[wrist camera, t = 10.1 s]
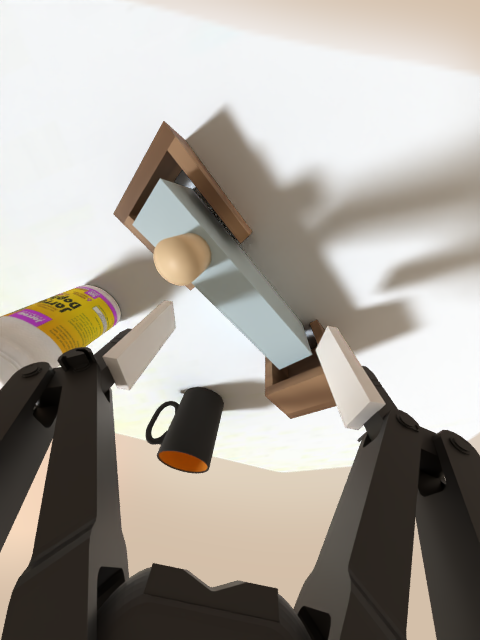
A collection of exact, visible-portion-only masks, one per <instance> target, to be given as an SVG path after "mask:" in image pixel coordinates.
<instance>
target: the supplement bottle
mask: <svg viewBox="0 0 480 640" xmlns="http://www.w3.org/2000/svg"><path fill="white" fill-rule="evenodd" d="M120 317H121V312H120V308H119V306H118V304H117V303H116V301H115V300H114V299H113V297H112V296H111V295H109V294H108V293H107V292H105V291H104V290H102V289H100V288H98V287H95V286H91V285H84V286H80V287H77V288H74V289H71V290H69V291H66V292H63V293H61V294H58V295H56V296H53V297H51V298H48V299H45V300H43V301H40V302H38V303H35V304H32V305H30V306H27V307H25V308H22V309H19V310H17V311H14V312H12V313H9V314H6V315H4V316H1V317H0V389H1V388H2V387H3V386H4V385H5V384H6V382H7V381H8V380H9V379H10V378H11V377H12V375H13V374H14V373H15V372H17V371H18V370H19V369H21V368H23V367H25V366H27V365H30V364H32V363H37V362H47V363H49V364H50V366H51V367H52V368H57V367H58V366H59V365H60V364H59V363H58V361H57V360H58V358H59V357H60V356H61V355H62V354H63V353H65V352H67V351H69V350H71V349H74V348H79V347H86V346H87V345H88V344H90V343H91V342H92V341H94V340H95V339H97V338H98V337H99V336H101V335H102V334H103V333H105V332H106V331H108V330H109V329H110V328H112V327H113V326H114V325H116V324H117V323H118V322H119V320H120Z"/></svg>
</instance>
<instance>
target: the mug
mask: <svg viewBox="0 0 480 640" xmlns="http://www.w3.org/2000/svg"><path fill="white" fill-rule="evenodd" d="M223 404H224V403H223V400H222V398H221V397H220V396H219V395H218V394H217V393H215V392H214V391H212V390H209V389H206V388H200V387H196V388H191V389H189V390H187V391H186V392H185V394H184V396H183V398H182V400H181V402H180V405H179V404H178V403H176V402H174V401H168V402H165V403H163V404H162V405H161V406H160V407H159V408H158V409H157V410H156V412H155V414H154V415H153V417H152V419H151V421H150V422H149V424H148V426H147V429H146V440H147V441H148V443H150V444H161V447H160V449H159V451H158V453H157V457H158V459H159V460H160V461H161V462H162V463H164V464H165V465H167V466H169V467H171V468H173V469H176V470H180V471H183V472H188V473H204V472H206V471H208V470H209V467H210V462H211V458H212V454H213V449H214V445H215V441H216V436H217V432H218V427H219V423H220V418H221V414H222V410H223ZM169 405H171V406H174V407H175V416H174V418H173V420H172V422H171V424H170V427H169V429H168V431H166V432H165V433H164V434H163V435H162V436H161V437H159V438H156V439H154V438H152V436H151V430H152V427H153V425H154V423H155V421H156V419H157V417H158V416H159V414H160V412H161V411H162V410H163V409H164V408H165V407H167V406H169Z"/></svg>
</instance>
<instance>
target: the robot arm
mask: <svg viewBox="0 0 480 640" xmlns="http://www.w3.org/2000/svg"><path fill="white" fill-rule="evenodd" d="M175 328H176V325H175V316H174V308H173V302H171V301H165V300H164V301H163V302H162V303H161V304H159V305H158V306H157V307H156V308H155V309H154V310H153V311H152V312H151V313H150V314H148V315H147V316H146V317H145V318H144V319H143V320H142V321H141V322H140V323H139V324H138V325H136V326H135V327H134V328H133V329H126V330H124V331H122V332H120V333H119V334H118V335H117V336H115V337H114V338H113V339H112V340H111V341H110V342H109V343H107V344H106V345H105V346H104V347H103V348H101V349H100V350H99V351H98V352H97V353H96V354H94V355H93V353H92V351H91V349H90V348H88V347H79V348H74V349H71V350H69V351H67V352H65V353H63V354H62V355H61V356H60V357H59V358H58V360H57V361H58V363H59V364H60V365H61V367H59V368H52V367H51V366H50V364H49V363H47V362H37V363H32V364H30V365H27V366H25V367H23V368H21V369H19V370H18V371H17V372H15V373H14V374H13V375H12V377H11V378H10V379H9V380H8V381H7V382H6V384H5V385H4V386H3V387H2V388H1V389H0V552H1V549H2V547H3V545H4V543H5V541H6V539H7V536H8V534H9V532H10V530H11V528H12V525H13V523H14V521H15V519H16V517H17V514H18V513H19V510H20V508H21V506H22V504H23V502H24V499H25V497H26V495H27V493H28V490H29V489H30V486H31V484H32V482H33V480H34V478H35V475H36V473H37V471H38V469H39V467H40V465H41V463H42V460H43V458H44V456H45V454H46V452H47V450H48V447H49V445H50V443H51V441H52V439H53V442H52V447H51V453H50V459H49V464H48V470H47V475H46V481H45V486H44V493H43V498H42V504H41V509H40V515H39V520H38V526H37V532H36V537H35V543H34V549H33V554H32V558H31V561H30V563H29V565H28V567H27V568H26V570H25V571H24V572H23V574H22V575H21V576H20V577H19V579H18V581H17V583H16V585H15V587H14V589H13V592H12V595H11V599H10V602H9V606H8V610H7V615H6V619H5V624H4V629H3V633H2V639H1V640H407V639H406V627H407V615H408V602H409V589H410V577H411V565H412V552H413V540H414V528H415V517H416V522H417V528H418V534H419V540H420V545H421V550H422V557H423V562H424V568H425V574H426V580H427V586H428V591H429V597H430V602H431V608H432V614H433V620H434V625H435V632H436V637H437V640H480V455H479V454H478V453H477V451H476V450H475V448H474V447H472V445H471V444H470V443H469V442H467V441H466V440H465V439H464V438H462V437H461V436H459V435H457V434H456V433H454V432H451V431H449V430H442V431H440V432H439V433H437V434H436V433H434V432H432V431H429V430H427V429H425V428H422V427H420V426H419V424H418V423H417V422H416V421H415V420H414V419H413V418H412V417H411V416H409V415H408V414H407V413H405V412H403V411H401V410H398V409H397V407H396V406H395V404H394V403H393V401H392V400H391V398H390V397H389V396H388V394H387V393H386V391H385V390H384V388H383V387H382V385H381V384H380V382H378V379H377V378H376V376H375V375H374V374H373V372H371V371H370V370H369V369H368V368H367V367H365V366H361V364H360V363H359V361H358V360H357V358H356V356H355V355H354V353H353V352H352V350H351V349H350V347H349V346H348V344H347V342H346V341H345V339H344V338H343V336H342V335H341V333H340V331H339V330H338V328H337V327H332V326H327V328H326V330H325V332H324V334H323V336H322V338H321V340H320V342H319V344H318V346H317V348H316V353H317V355H318V358H319V360H320V363H321V366H322V368H323V371H324V374H325V376H326V379H327V381H328V384H329V387H330V389H331V392H332V395H333V397H334V400H335V402H336V405H337V408H338V410H339V413H340V416H341V418H342V421H343V423H344V426H345V428H349V429H355V430H359V429H360V428H361V427H362V426H363V425H364V426H365V428H366V431H367V432H366V433H365V434H363V435H362V436H361V437H360V438H359V439H358V440H357V441H358V442H360V441H361V440H362V441H361V444H360V446H359V449H358V452H357V455H356V457H355V460H354V463H353V465H352V468H351V471H350V473H349V476H348V479H347V482H346V484H345V487H344V490H343V492H342V495H341V498H340V501H339V503H338V506H337V508H336V511H335V514H334V517H333V519H332V522H331V525H330V527H329V530H328V533H327V535H326V538H325V541H324V544H323V546H322V549H321V552H320V555H319V557H318V560H317V562H316V565H315V567H314V569H313V571H312V573H311V574H310V575H309V577H308V578H307V579H306V581H305V583H304V584H303V587H302V589H301V591H300V594H299V597H298V599H297V602H296V604H295V607H294V609H293V608H292V607H291V606H290V605H289V603H288V602H287V601H286V600H285V599H284V598H283V597H282V596H280V595H279V594H278V589H277V588H272V587H267V586H262V585H257V584H253V583H247V582H243V581H234V582H231V583H227V584H224V585H220V586H217V587H213V588H212V587H209V586H207V585H206V584H205V583H204V582H202V581H201V580H200V579H198V578H197V577H196V576H194V575H193V574H192V573H191V572H189V571H188V570H184V569H179V568H174V567H170V566H165V565H159V564H155V563H153V564H152V567H150V568H146V569H144V570H142V571H140V572H138V573H137V574H135V575H133V576H132V577H130V578H129V572H128V560H127V550H126V544H125V540H124V537H123V534H122V530H121V529H122V528H121V516H120V502H119V489H118V474H117V461H116V445H115V431H114V417H113V403H112V390H111V388H110V387H111V386H112V385H113V384H114V383H115V384H116V386H117V388H119V389H125V390H130V389H131V388H132V386H133V385H134V384H135V382H136V381H137V380H138V378H139V377H140V376H141V374H142V373H143V372H144V370H145V369H146V367H147V366H148V365H149V363H150V362H151V361H152V359H153V358H154V357H155V355H156V354H157V353H158V351H159V350H160V349H161V347H162V346H163V344H164V343H165V342H166V340H167V339H168V338H169V336H170V335H171V334H172V332H173V331H174V330H175ZM444 477H445V478H444ZM445 479H446V481H445Z"/></svg>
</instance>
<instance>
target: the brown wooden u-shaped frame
mask: <svg viewBox="0 0 480 640" xmlns="http://www.w3.org/2000/svg"><path fill="white" fill-rule="evenodd" d="M181 170H183V171H184V172H185V173H186V175H187V176H188V177H189V179H190V180H191V181H192V182H193V184H194V185H195V186H196V188H197V189H198V190H199V191H200V193H201V194H202V195H203V196H204V198H205V199H206V200H207V202H208V203H209V204H210V205H211V207H212V208H213V209H214V211H215V212H216V213H217V214H218V216H219V217H220V218H221V219H222V221H223V222H224V223H225V225H226V226H227V227H228V228H229V230H230V231H231V232H232V233H233V235H234V236H235V237H236V239H237V240H238V241H239V242H240V244H241V243H242V242H243V241H244V240H245V239H246V238H247V237H248V236H249V235H250V234H251V233H252V230H251V229H250V228H249V226H248V225H247V224H246V222H245V221H244V219H243V218H242V217H241V215H240V214H239V213H238V211H237V210H236V209H235V207H234V206H233V205H232V203H231V202H230V200H229V199H228V198H227V196H226V195H225V194H224V192H223V191H222V190H221V188H220V187H219V185H218V184H217V183H216V181H215V180H214V179H213V177H212V176H211V175H210V173H209V172H208V170H207V169H206V168H205V166H204V165H203V164H202V162H201V161H200V160H199V158H198V157H197V155H196V154H195V153H194V151H193V150H192V149H191V147H190V146H189V145H188V143H187V142H186V140H185V139H184V138H182V137H181V136H180V135H179V134H178V133H177V132H176V131H175V130H173V129H172V128H171V127H170V126H169V125H168V124H167V123H166V122H165V121H163V123H162V125H161V127H160V129H159V130H158V132H157V134H156V136H155V138H154V140H153V141H152V143H151V145H150V147H149V149H148V151H147V153H146V154H145V156H144V158H143V160H142V162H141V164H140V166H139V167H138V169H137V171H136V173H135V175H134V177H133V178H132V180H131V182H130V184H129V186H128V188H127V190H126V191H125V193H124V195H123V197H122V199H121V201H120V202H119V204H118V206H117V208H116V210H115V212H114V215H115V216H116V217H117V218H118V219H119V220H120V221H121V222H122V223H123V224H124V225H125V226H126V227H127V228H128V229H129V230H130V231H131V232H132V233H133V234H134V235H135V236H136V237H137V238H138V239H139V240H140V241H141V242H142V243H143V244H144V245H145V246H146V247H147V248H148V249H149V250H150V251H151V252H152V253H153V254H154V249H155V247H154V246H153V245H152V244H151V243H150V242H149V241H148V240H147V239H146V238H145V237H144V236H143V235H142V234H141V233H140V232H139V231H138V230H137V229H136V228H135V227H134V226H133V225H132V224H133V223H134V221H135V219H136V218H137V216H138V214H139V213H140V211H141V209H142V208H143V206H144V204H145V203H146V201H147V199H148V198H149V196H150V194H151V193H152V191H153V189H154V188H155V186H156V184H157V183H158V181H159V179H160V178H161V179H164V180H167V181H170V182H174V181H175V179H176V178H177V176H178V175H179V173H180V172H181ZM185 286H186V287H187V288H188V289H189V290H190V291H191V290H192V289H193V288H194V287H195V286H194V285H193V284H192V283H190V284H188V285H185Z"/></svg>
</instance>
